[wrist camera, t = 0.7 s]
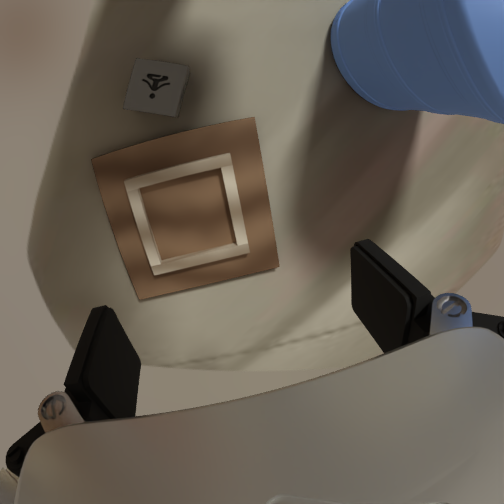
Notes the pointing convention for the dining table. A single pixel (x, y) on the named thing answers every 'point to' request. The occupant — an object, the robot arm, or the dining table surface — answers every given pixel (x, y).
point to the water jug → (424, 54)
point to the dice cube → (156, 87)
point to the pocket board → (189, 207)
